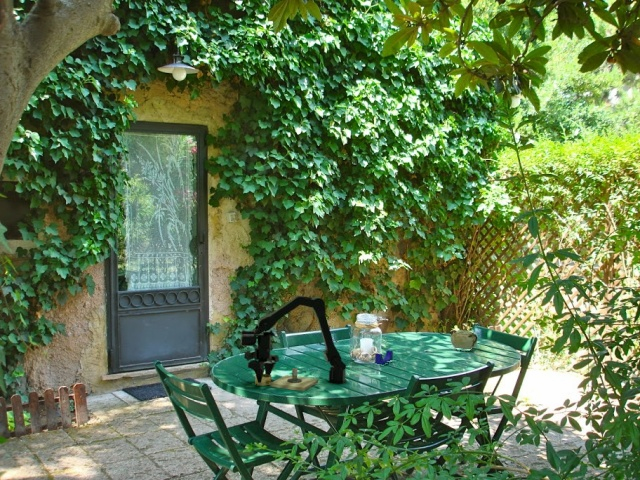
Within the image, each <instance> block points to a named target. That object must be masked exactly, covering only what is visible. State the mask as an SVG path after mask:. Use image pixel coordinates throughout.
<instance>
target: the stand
mask: <svg viewBox="0 0 640 480" xmlns="http://www.w3.org/2000/svg"><path fill="white" fill-rule="evenodd" d="M298 373H299V371H298V368H296V367H295V368H291V375H288V374H285V375H283V376H282V377H280V378H278V379H276V380H274V381H271V383H270V385H269V387H271V388H279V389H286V390H293V391H299V392H305V391H307V390H308V389H310V388H312V387H313V386H315V385H317V384H318V383H319V379H318V378H312V377H302V376H298Z"/></svg>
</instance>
